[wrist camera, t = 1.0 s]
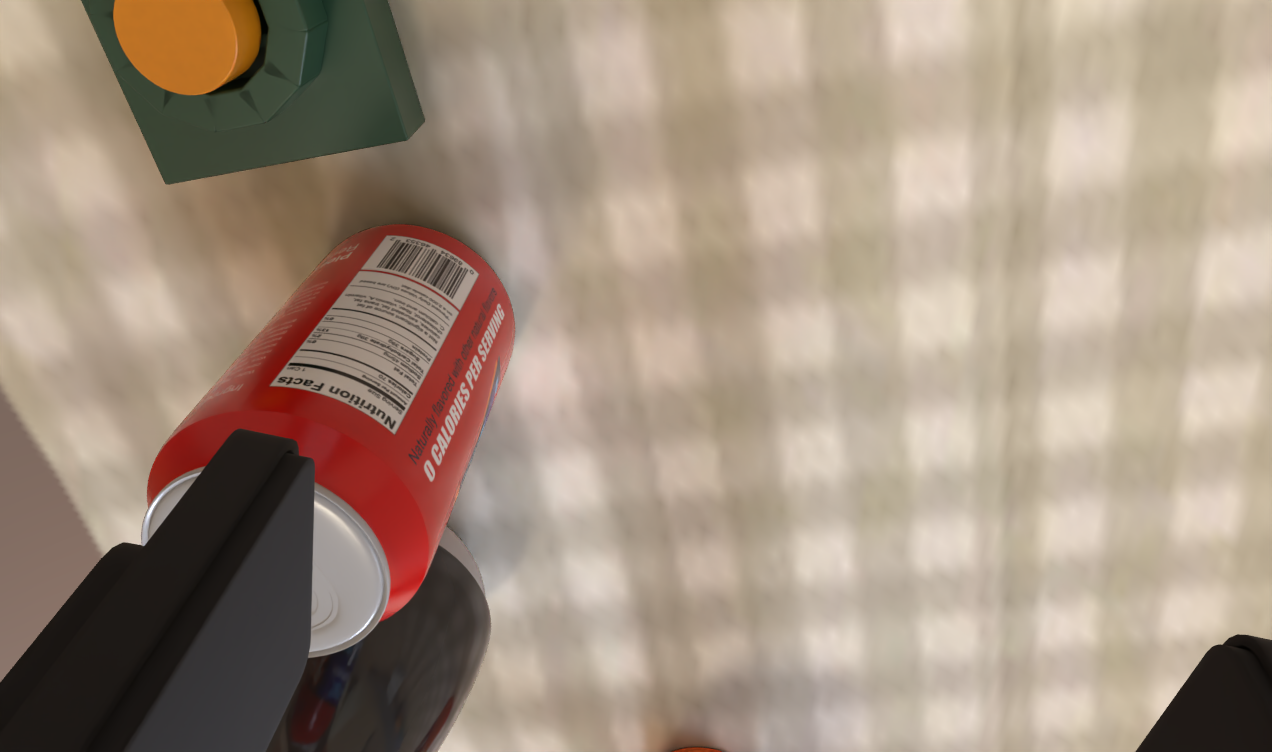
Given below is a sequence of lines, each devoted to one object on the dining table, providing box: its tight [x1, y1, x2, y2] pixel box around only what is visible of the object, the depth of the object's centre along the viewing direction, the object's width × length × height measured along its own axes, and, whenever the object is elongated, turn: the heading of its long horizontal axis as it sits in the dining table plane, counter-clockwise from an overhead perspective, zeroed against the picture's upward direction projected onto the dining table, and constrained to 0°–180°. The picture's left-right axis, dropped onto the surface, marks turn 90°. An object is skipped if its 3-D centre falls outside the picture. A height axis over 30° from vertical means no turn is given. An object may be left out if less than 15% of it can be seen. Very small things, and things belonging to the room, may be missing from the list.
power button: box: [113, 0, 261, 95], centre depth 29 cm, size 4×4×2 cm
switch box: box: [81, 0, 425, 185], centre depth 31 cm, size 10×9×4 cm
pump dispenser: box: [266, 526, 491, 752], centre depth 38 cm, size 10×10×15 cm
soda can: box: [141, 224, 515, 658], centre depth 32 cm, size 8×8×15 cm
